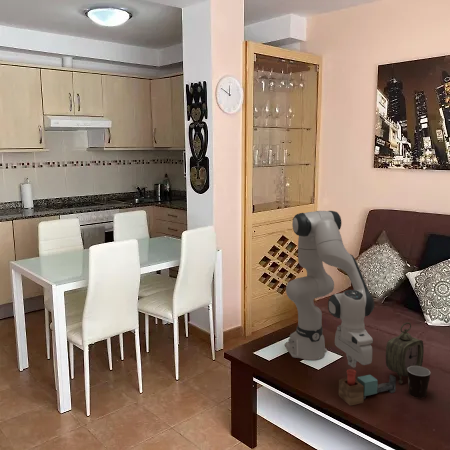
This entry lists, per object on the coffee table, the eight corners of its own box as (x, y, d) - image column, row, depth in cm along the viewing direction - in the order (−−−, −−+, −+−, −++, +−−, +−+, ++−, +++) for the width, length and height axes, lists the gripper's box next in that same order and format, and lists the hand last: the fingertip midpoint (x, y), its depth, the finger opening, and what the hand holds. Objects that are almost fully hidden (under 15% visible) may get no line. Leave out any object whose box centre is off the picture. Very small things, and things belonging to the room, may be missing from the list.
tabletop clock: (401, 386, 193) (403, 329, 189) (383, 377, 201) (385, 323, 197) (422, 376, 201) (425, 322, 197) (404, 368, 209) (406, 315, 204)
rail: (355, 394, 187) (355, 381, 186) (389, 387, 193) (390, 373, 192) (361, 399, 184) (361, 385, 183) (396, 392, 189) (396, 378, 188)
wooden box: (338, 395, 187) (339, 379, 186) (351, 392, 189) (351, 376, 188) (350, 405, 180) (350, 389, 179) (363, 402, 182) (363, 386, 181)
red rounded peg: (344, 383, 185) (345, 369, 184) (352, 381, 186) (352, 368, 185) (349, 387, 181) (350, 374, 180) (357, 386, 182) (358, 372, 181)
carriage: (356, 390, 188) (357, 377, 187) (369, 387, 190) (369, 374, 189) (364, 396, 183) (364, 382, 182) (377, 393, 185) (377, 380, 184)
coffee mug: (410, 386, 193) (411, 363, 192) (431, 392, 188) (433, 369, 186) (400, 398, 185) (401, 374, 183) (423, 405, 179) (424, 381, 177)
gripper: (331, 324, 188) (330, 356, 191) (361, 343, 169) (360, 378, 172) (344, 322, 190) (343, 353, 193) (375, 340, 171) (374, 375, 174)
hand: (351, 365), depth 182 cm, fingers closed
